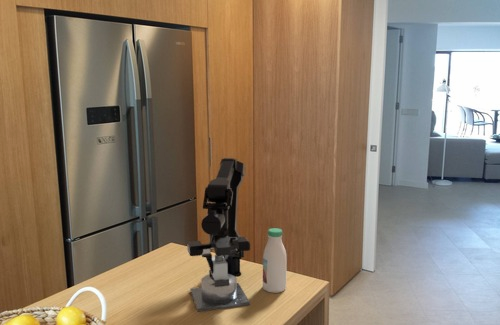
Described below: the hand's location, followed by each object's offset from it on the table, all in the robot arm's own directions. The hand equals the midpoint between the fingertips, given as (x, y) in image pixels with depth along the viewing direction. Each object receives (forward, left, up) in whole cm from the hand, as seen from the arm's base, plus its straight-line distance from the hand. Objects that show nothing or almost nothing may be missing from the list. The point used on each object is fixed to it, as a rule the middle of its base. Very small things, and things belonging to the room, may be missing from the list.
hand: (219, 272), depth 143 cm
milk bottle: (-19, -2, -9) cm, 21 cm away
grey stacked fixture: (0, 0, -8) cm, 9 cm away
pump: (0, 0, -1) cm, 1 cm away
